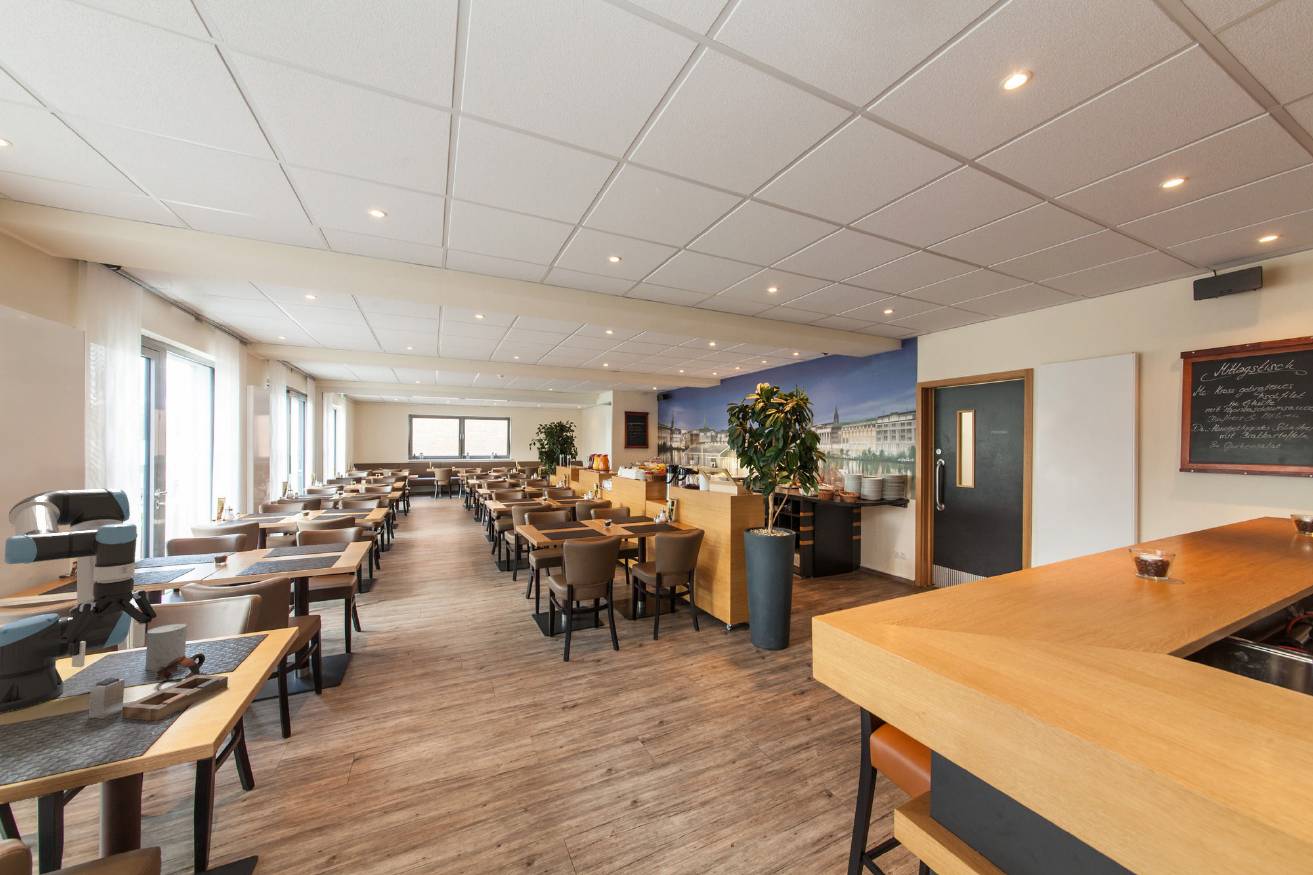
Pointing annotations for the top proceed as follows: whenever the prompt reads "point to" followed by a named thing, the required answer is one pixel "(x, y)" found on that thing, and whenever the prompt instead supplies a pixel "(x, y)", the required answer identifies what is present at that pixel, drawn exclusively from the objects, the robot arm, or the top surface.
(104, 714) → the plug
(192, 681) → the socket board
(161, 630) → the grey cylinder
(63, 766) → the top surface
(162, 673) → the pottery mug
